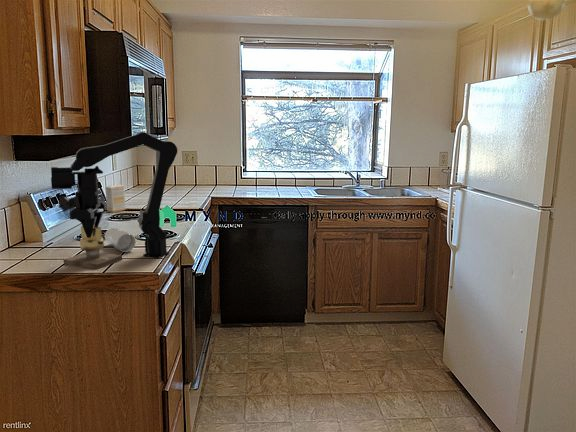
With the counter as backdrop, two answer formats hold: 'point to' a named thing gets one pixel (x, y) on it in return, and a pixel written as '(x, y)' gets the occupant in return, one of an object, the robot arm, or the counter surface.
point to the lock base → (93, 259)
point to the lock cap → (92, 240)
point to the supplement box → (115, 198)
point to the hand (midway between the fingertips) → (91, 235)
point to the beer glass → (120, 239)
